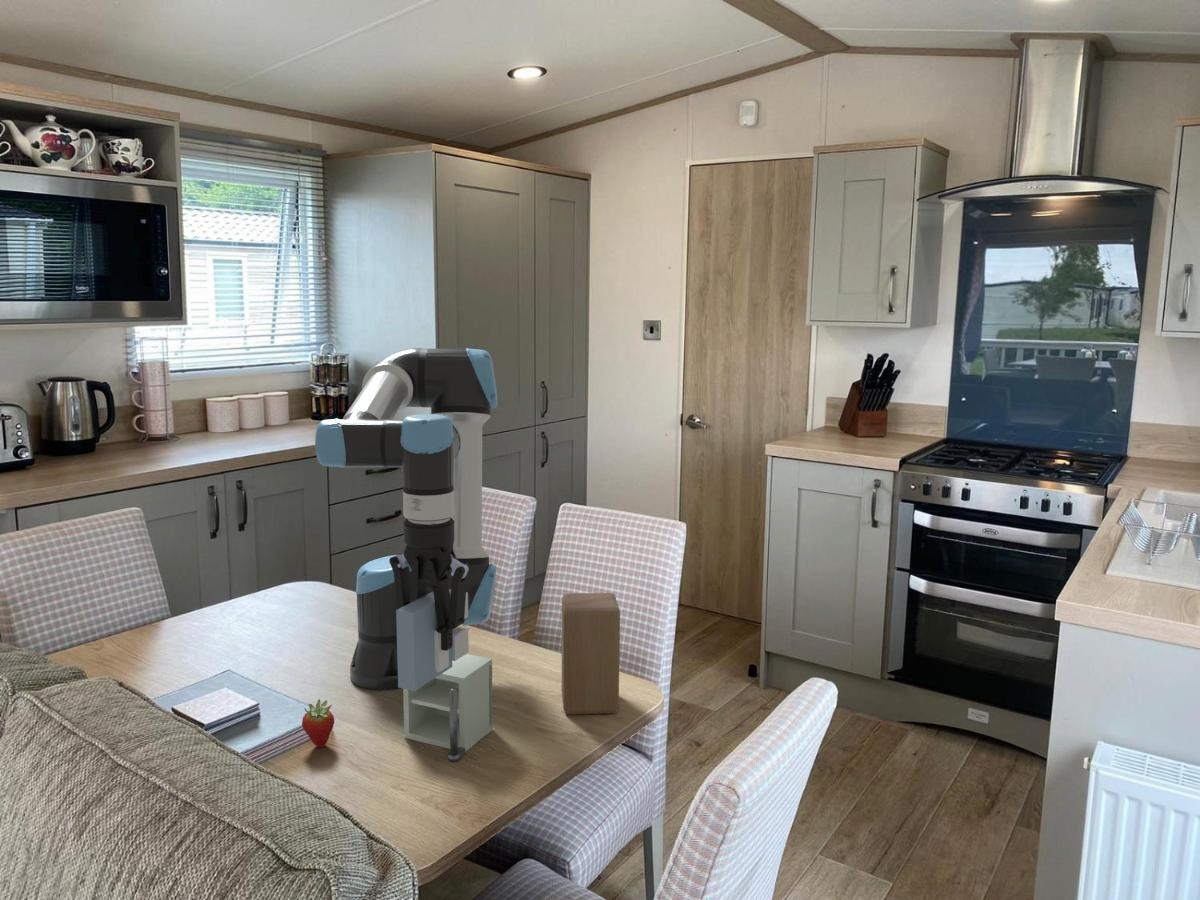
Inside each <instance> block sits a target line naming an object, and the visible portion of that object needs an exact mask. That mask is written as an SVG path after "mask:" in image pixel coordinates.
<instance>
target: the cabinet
mask: <svg viewBox="0 0 1200 900" xmlns="http://www.w3.org/2000/svg"><path fill="white" fill-rule="evenodd" d="M451 689H456V691H457V734H458V747H462V748H465V753H466V752H467V751H469V750H470V749H471V748H473V746H475V745H476V744H477V743H478V742H479V741H481V740H482V739H483V738H484V737H486V736H487V735H488V734H489V733H490V732H492V730H493V658H490V657H485V656H480V655H474V654H469V653H467V654H465V655H464V656H462V657H461V658H459V659H458V660H456V661H452V667H451V668H450V669H448V670H447V671H445V672H444V673H442V674H440V675H439V676H437V677H436V678H434V679H433V680H431V681H430V682H428V683H427V684H425V685H424V686H422V687H421V688H419V689H418V690H416V691H412V690H408V689H403V688H402V693H403V694H402V697H403V729H404V730H403V732H404V733H403V735H404V736H403V737H404V738H405V739H409V740H412V741H416V742H419V743H425V744H428V745H431V746H432V745H433V746H436V747H437V746H438V747H440V748H444V749H445V748H446V749H449V750H450V702H449V692H450V690H451Z"/></svg>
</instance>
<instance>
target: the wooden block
mask: <svg viewBox="0 0 1200 900" xmlns="http://www.w3.org/2000/svg"><path fill="white" fill-rule="evenodd" d="M615 595H616V594H614V593H612V592H591V593H590V592H585V593H584V592H582V593H579V592H578V593H575V592H572V593H569V592H568V593H565V594H563V595H562V598H561V698H562V700H561V701H562V707H563V711H564V713H565V714H566V715H590V714H591V715H594V714H595V715H596V714H615V713H617V712H618V710H619V708H620V707H619V703H620V702H619V701H620V699H619V695H620V655H621V654H620V649H621V648H620V647H621V646H620V645H621V644H620V642H621V638H620V635H621V611H620V608H619V604H618V600H617V597H616V596H615Z"/></svg>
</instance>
